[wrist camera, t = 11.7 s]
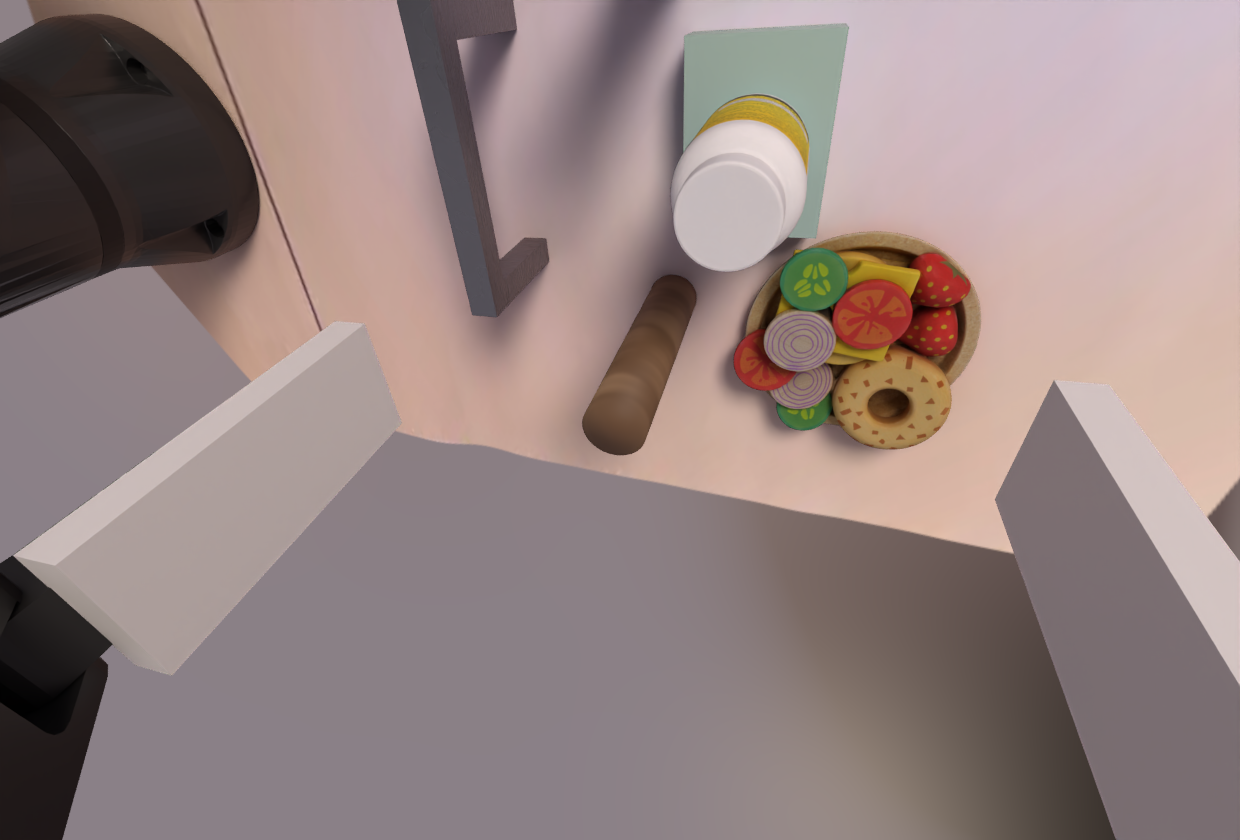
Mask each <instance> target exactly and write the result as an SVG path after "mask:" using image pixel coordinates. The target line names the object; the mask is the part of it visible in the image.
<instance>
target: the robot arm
mask: <svg viewBox="0 0 1240 840" xmlns="http://www.w3.org/2000/svg"><path fill="white" fill-rule="evenodd" d="M257 214H258V191H257V185H256V179H255V175H254V171H253V168H252V164H251V161H250V158H249V156H248V153H247V151H246V148H245V146H244V144H243V141H242V139H241V137H240V135H239V133H238V131H237V129H236V127H235V125H234V124H233V122H232V120H231V118H230V117H229V115H228V114H227V112H226V110H225V109H224V107H223V106H222V104H221V103H220V101H219V100H218V99H217V97H216V96H215V95H214V93H213V92H212V91H211V89H210V88H209V87H208V86H207V84H206V83H205V82H204V81H203V80H202V78H201V77H200V76H199V75H198V74H197V73H196V72H195V71H194V70H193V69H192V68H191V66H190V65H189V64H188V63H186V62H185V61H184V60H183V59H182V58H181V57H180V56H179V55H178V54H177V53H176V52H175V51H173V50H172V49H171V48H170V47H168V46H167V45H166V44H165V43H163V42H162V41H161V40H159V39H158V38H156V37H155V36H153V35H152V34H150V33H149V32H147V31H145V30H144V29H142V28H140V27H138V26H136V25H134V24H132V23H130V22H128V21H125V20H122V19H120V18H116V17H113V16H108V15H101V14H87V15H68V16H57V17H52V18H48V19H45V20H42V21H40V22H38V23H36V24H34V25H33V26H31V27H29V28H27V29H25V30H24V31H22V32H20V33H18V34H16V35H15V36H13V37H11V38H9V39H7V40H6V41H4V42H2V43H0V318H2V317H4V316H7V315H9V314H11V313H14V312H16V311H18V310H21V309H23V308H26V307H28V306H30V305H33V304H35V303H37V302H40V301H42V300H44V299H47V298H49V297H52V296H54V295H56V294H58V293H61V292H63V291H66V290H68V289H70V288H73V287H75V286H77V285H80V284H82V283H85V282H87V281H89V280H91V279H93V278H96V277H98V276H101V275H103V274H106V273H108V272H110V271H113V270H116V269H119V268H127V267H140V266H153V265H166V264H179V263H192V262H201V261H206V260H210V259H213V258H215V257H218V256H220V255H222V254H224V253H226V252H228V251H231V250H233V249H235V248H237V247H239V246H240V245H242V244H243V243H244V242H245V241H246V240H247V239H248V238H249V236H250V235H251V233H252V231H253V229H254V226H255V224H256V220H257ZM401 423H402V422H401V419H400V416H399V414H398V411H397V408H396V406H395V403H394V400H393V398H392V395H391V392H390V390H389V387H388V384H387V382H386V379H385V376H384V374H383V371H382V368H381V366H380V363H379V360H378V358H377V355H376V352H375V350H374V347H373V344H372V342H371V339H370V336H369V334H368V331H367V328H366V326H365V324H363V323H351V322H339V321H335V322H333V323H332V324H331V325H329V326H328V327H327V328H325V329H324V330H322V331H321V332H320V333H318V334H317V335H316V336H314V337H313V338H311V339H310V340H309V341H307V342H306V343H305V344H303V345H302V346H300V347H299V348H298V349H296V350H295V351H294V352H292V353H291V354H289V355H288V356H287V357H285V358H284V359H283V360H281V361H280V362H278V363H277V364H276V365H274V366H273V367H272V368H270V369H269V370H267V371H266V372H265V373H263V374H262V375H261V376H259V377H258V378H256V379H255V380H254V381H252V382H251V383H250V384H248V385H247V386H246V387H244V388H243V389H241V390H240V391H239V392H237V393H236V394H234V395H233V396H232V397H230V398H229V399H228V400H226V401H225V402H223V403H222V404H221V405H219V406H218V407H217V408H215V409H214V410H212V411H211V412H210V413H208V414H207V415H206V416H204V417H203V418H201V419H200V420H199V421H197V422H196V423H195V424H193V425H192V426H191V427H189V428H188V429H186V430H185V431H184V432H182V433H181V434H179V435H178V436H177V437H175V438H174V439H173V440H171V441H170V442H169V443H167V444H166V445H164V446H163V447H162V448H160V449H159V450H158V451H156V452H155V453H153V454H151V455H150V456H149V457H147V458H146V459H145V460H143V461H142V462H140V463H139V464H138V465H136V466H135V467H133V468H132V469H131V470H129V471H128V472H127V473H126V474H124V475H123V476H122V477H120V478H118V479H117V480H116V481H115V482H113V483H112V484H110V485H109V486H107V487H106V488H105V489H103V491H101V492H100V493H99V494H96V495H95V496H94V497H92V498H91V499H89V500H88V501H87V502H85V503H84V504H83V505H81V506H80V507H79V508H77V509H76V510H74V511H73V512H72V513H70V514H69V515H67V516H66V517H65V518H63V519H62V520H61V521H59V522H58V523H56V524H55V525H54V526H52V527H51V528H50V529H48V530H47V531H45V532H44V533H43V534H41V535H40V536H39V537H37V538H36V539H34V540H33V541H32V542H31V543H29V544H27V545H26V546H25V547H23V548H22V549H21V550H19V551H18V552H17V553H15V554H14V555H13V556H11V557H9V558H8V559H6V560H5V561H3V562H2V563H0V840H62V838H63V835H64V831H65V828H66V824H67V820H68V817H69V813H70V810H71V806H72V802H73V798H74V795H75V792H76V788H77V785H78V781H79V777H80V774H81V770H82V767H83V763H84V760H85V756H86V752H87V749H88V745H89V741H90V738H91V734H92V731H93V727H94V724H95V720H96V716H97V713H98V709H99V706H100V702H101V699H102V695H103V692H104V688H105V684H106V681H107V677H108V664H107V663H106V662H105V661H104V660H103V659H102V658H101V657H100V656H101V655H102V654H103V653H104V652H105V651H106V650H107V649H108V648H109V647H110V646H111V645H113V646H114V647H116V648H117V649H118V650H119V651H120V652H121V653H123V655H124V656H126V657H127V658H128V659H129V660H130V661H131V662H132V663H133V664H135V665H136V666H140V667H144V668H147V669H151V670H154V671H158V672H161V673H165V674H168V675H173V674H174V673H175V671H176V670H177V669H178V668H179V667H180V666H181V665H182V664H183V663H184V662H185V660H186V659H187V658H188V657H189V656H190V655H191V653H192V652H194V650H195V649H196V648H197V647H198V646H199V645H200V644H201V643H202V642H203V641H204V639H205V638H206V637H207V636H208V635H209V634H210V633H211V632H212V631H213V630H214V628H216V626H217V625H218V624H219V623H220V622H221V621H222V620H223V619H224V618H225V617H226V615H227V614H228V613H229V612H230V611H231V610H232V609H233V608H234V607H235V606H236V604H237V603H238V602H239V601H240V600H241V599H242V598H243V597H244V596H245V594H247V592H248V591H249V590H250V589H251V588H252V587H253V586H254V585H255V583H257V581H258V580H259V579H260V578H261V577H262V576H263V574H265V573H266V572H267V570H268V569H269V568H270V567H271V566H272V565H273V564H274V563H275V562H276V561H277V559H278V558H279V557H280V556H281V555H282V554H283V553H284V552H285V551H286V549H288V547H289V546H290V545H291V544H292V543H293V542H294V541H295V540H296V539H297V537H298V536H299V535H300V534H301V533H302V532H303V531H304V530H305V529H306V528H307V527H308V525H309V524H310V523H311V522H312V521H313V520H314V519H315V517H317V516H318V515H319V513H320V512H321V511H322V510H323V509H324V508H325V507H326V506H327V505H328V503H329V502H330V501H331V500H332V499H333V498H334V497H335V496H336V495H337V494H338V493H339V491H340V490H341V489H342V488H343V487H344V486H345V485H346V484H347V483H348V482H349V480H350V479H351V478H352V477H353V476H354V475H355V474H356V473H357V472H358V471H359V469H360V468H361V467H362V466H363V465H364V464H365V463H366V462H367V461H368V460H369V459H370V457H371V456H372V455H373V454H374V453H375V452H376V451H377V450H378V449H379V447H380V446H381V445H382V444H383V443H384V442H385V441H386V440H387V439H388V438H389V436H391V434H392V433H393V432H394V431H395V430H396V429H397V428H398V427H399V426H400V425H401ZM995 501H996V504H997V507H998V509H999V512H1000V515H1001V518H1002V521H1003V523H1004V526H1005V529H1006V532H1007V535H1008V537H1009V540H1010V543H1011V546H1012V549H1013V551H1014V554H1015V557H1016V560H1017V563H1018V565H1019V568H1020V571H1021V574H1022V577H1023V579H1024V582H1025V585H1026V588H1027V591H1028V593H1029V596H1030V599H1031V602H1032V605H1033V608H1034V610H1035V613H1036V616H1037V619H1038V621H1039V624H1040V627H1041V630H1042V633H1043V636H1044V638H1045V641H1046V644H1047V647H1048V650H1049V652H1050V655H1051V658H1052V661H1053V664H1054V666H1055V669H1056V672H1057V675H1058V678H1059V680H1060V683H1061V686H1062V689H1063V692H1064V694H1065V697H1066V700H1067V703H1068V706H1069V709H1070V711H1071V714H1072V717H1073V720H1074V722H1075V725H1076V728H1077V731H1078V734H1079V737H1080V739H1081V742H1082V745H1083V748H1084V751H1085V753H1086V756H1087V759H1088V762H1089V764H1090V767H1091V770H1092V773H1093V776H1094V779H1095V781H1096V784H1097V787H1098V790H1099V792H1100V795H1101V798H1102V801H1103V804H1104V807H1105V809H1106V812H1107V815H1108V818H1109V821H1110V824H1111V826H1112V829H1113V832H1114V835H1115V838H1116V840H1240V562H1239V560H1238V559H1237V558H1236V556H1235V555H1234V554H1233V552H1232V551H1231V549H1230V548H1229V547H1228V545H1227V544H1226V543H1225V541H1224V540H1223V539H1222V537H1221V536H1220V535H1219V533H1218V532H1217V531H1216V529H1215V528H1214V526H1213V525H1212V524H1211V522H1210V521H1209V520H1208V518H1207V517H1206V516H1205V514H1204V513H1203V511H1202V510H1201V509H1200V507H1199V506H1198V505H1197V503H1196V502H1195V501H1194V499H1193V498H1192V497H1191V495H1190V494H1189V492H1188V491H1187V490H1186V488H1185V487H1184V486H1183V484H1182V483H1181V482H1180V480H1179V479H1178V478H1177V476H1176V475H1175V473H1174V472H1173V471H1172V469H1171V468H1170V467H1169V465H1168V464H1167V463H1166V461H1165V460H1164V458H1163V457H1162V456H1161V454H1160V453H1159V452H1158V450H1157V449H1156V448H1155V446H1154V445H1153V444H1152V442H1151V441H1150V439H1149V438H1148V437H1147V435H1146V434H1145V433H1144V431H1143V430H1142V429H1141V427H1140V426H1139V425H1138V423H1137V422H1136V420H1135V419H1134V418H1133V416H1132V415H1131V414H1130V412H1129V411H1128V410H1127V408H1126V407H1125V406H1124V404H1123V403H1122V401H1121V400H1120V399H1119V397H1118V396H1117V395H1116V393H1115V392H1114V391H1113V389H1112V388H1111V387H1110V385H1108V384H1095V383H1083V382H1071V381H1059V380H1054V381H1053V383H1052V385H1051V387H1050V389H1049V391H1048V393H1047V395H1046V397H1045V399H1044V401H1043V403H1042V405H1041V407H1040V409H1039V411H1038V413H1037V415H1036V418H1035V420H1034V422H1033V424H1032V426H1031V428H1030V430H1029V432H1028V434H1027V436H1026V438H1025V440H1024V442H1023V444H1022V446H1021V448H1020V450H1019V452H1018V454H1017V456H1016V458H1015V460H1014V462H1013V464H1012V466H1011V468H1010V470H1009V472H1008V474H1007V476H1006V478H1005V480H1004V482H1003V484H1002V486H1001V488H1000V490H999V492H998V494H997V496H996V498H995Z"/></svg>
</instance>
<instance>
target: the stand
mask: <svg viewBox="0 0 1240 840" xmlns="http://www.w3.org/2000/svg"><path fill="white" fill-rule="evenodd" d="M848 30H849V27H848V25H847V24H829V25H810V26H792V27H773V28H754V29H736V30H717V31H698V32H692V33H690V34H687V35H685V36H684V132H683V153H684V151H685V150H686V148H687V146H688V145H689V144H690V142H691V141H692V140H693V139H694V138H695V136H696V135H697V133H698V132H699V131H700V129H701V128H702V127H703V126H704V124H705V123H706V122H707V120H708V119H709V118H710V116H711V115H712V114H713V113H714V112H715V111H716V110H717V109H718V108H720V107H721V106H722V105H724V104H725V103H727V102H728V101H730V100H732V99H734V98H737V97H739V96H742V95H747V94H754V93H762V94H769V95H773V96H776V97H778V98H780V99H782V100H784V101H786V102H787V103H788V104H790V105H791V106H792V107H793V108H794V109H795V110H796V111H797V112H798V114H799V115H800V117H801V118H802V120H803V122H804V124H805V126H806V129H807V133H808V137H809V147H810V152H809V166H808V178H807V193H806V200H805V205H804V208H803V212H802V214H801V216H800V219H799V221H798V223H797V225H796V226H795V228H794V229H793V231H792V232H791V234H790V235H789V236H788V237H790V238H816V235H817V228H818V222H819V216H820V209H821V203H822V196H823V190H824V184H825V177H826V171H827V164H828V158H829V152H830V145H831V139H832V132H833V126H834V120H835V113H836V107H837V100H838V94H839V88H840V81H841V75H842V68H843V62H844V56H845V49H846V43H847V36H848Z"/></svg>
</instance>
